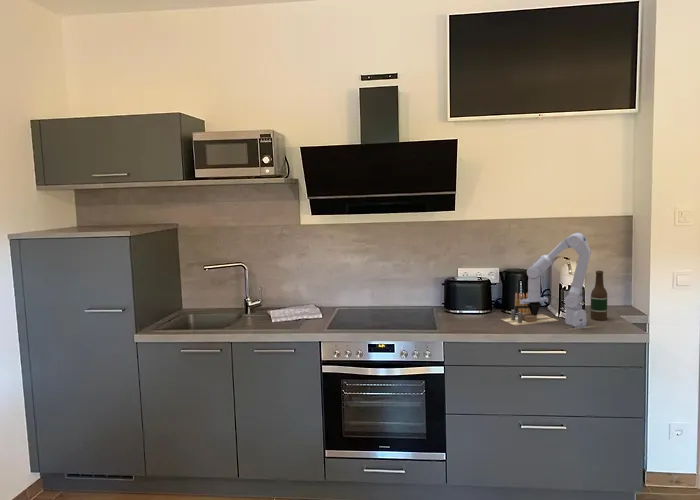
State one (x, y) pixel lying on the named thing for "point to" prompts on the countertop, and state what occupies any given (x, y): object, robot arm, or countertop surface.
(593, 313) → the beer bottle
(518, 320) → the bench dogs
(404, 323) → the countertop surface
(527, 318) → the tan cardboard box
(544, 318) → the bench board
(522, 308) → the ammunition clip
